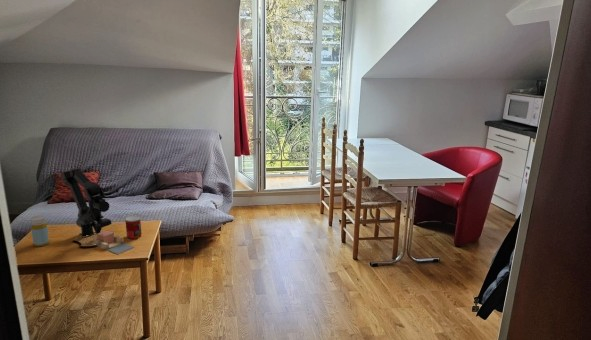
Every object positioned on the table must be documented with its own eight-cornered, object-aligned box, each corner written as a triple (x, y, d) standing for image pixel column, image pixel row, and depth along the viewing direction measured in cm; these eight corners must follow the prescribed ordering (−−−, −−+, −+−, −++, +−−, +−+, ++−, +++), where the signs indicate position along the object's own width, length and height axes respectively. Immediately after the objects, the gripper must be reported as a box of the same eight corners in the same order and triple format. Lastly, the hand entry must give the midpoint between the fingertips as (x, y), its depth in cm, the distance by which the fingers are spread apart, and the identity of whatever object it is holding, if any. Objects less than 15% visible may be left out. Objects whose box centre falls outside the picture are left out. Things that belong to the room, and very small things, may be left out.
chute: (93, 244, 220) (92, 239, 219) (110, 238, 228) (109, 233, 228) (106, 250, 214) (106, 245, 213) (123, 243, 222) (123, 238, 222)
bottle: (52, 242, 221) (48, 216, 217) (39, 247, 215) (35, 221, 211) (43, 240, 224) (39, 214, 220) (31, 245, 218) (26, 218, 214)
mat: (107, 250, 214) (107, 249, 214) (124, 243, 222) (124, 243, 222) (117, 254, 209) (117, 253, 209) (134, 247, 218) (134, 246, 218)
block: (97, 242, 221) (96, 233, 220) (107, 238, 226) (106, 230, 225) (104, 245, 218) (103, 236, 217) (114, 241, 223) (113, 232, 222)
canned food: (136, 239, 227) (135, 221, 224) (123, 238, 228) (122, 220, 226) (144, 234, 234) (143, 216, 231) (131, 233, 236) (130, 215, 233)
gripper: (70, 208, 219) (73, 235, 223) (91, 215, 210) (94, 243, 214) (90, 202, 228) (93, 228, 232) (110, 209, 219) (113, 236, 223)
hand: (97, 234), depth 225 cm, fingers closed
